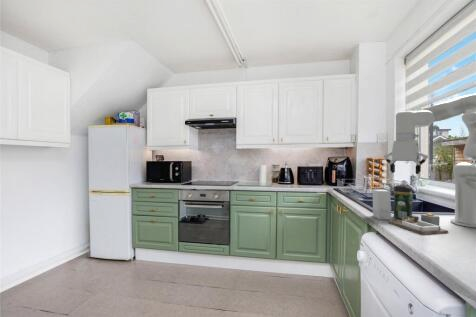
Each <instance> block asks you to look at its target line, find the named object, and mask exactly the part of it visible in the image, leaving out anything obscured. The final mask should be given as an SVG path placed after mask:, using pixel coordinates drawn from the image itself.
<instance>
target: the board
mask: <svg viewBox="0 0 476 317" xmlns="http://www.w3.org/2000/svg"><path fill="white" fill-rule="evenodd" d="M417 220H420V216H417V215H413V214H412V215H410V217H406V219H404V218H402V219H397V220H396V219H395V220H388V221H387V223H388V224H391V225H394V226H397V227H399V228H402V229H404V230H407V231H411V232H413V233H415V234H419V235H422V236H423V235H438V234H448V233H449V230H446V229H444V228H441V227H440V230H438V231H423V232H422V231H419V230H416V229H413V228H410V227H407V226H404V225H402V221H405V222H408V223H411V224H415V225H418V226H421V227H425V226H422V225H419V224H417Z"/></svg>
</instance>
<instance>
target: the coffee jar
mask: <svg viewBox="0 0 476 317" xmlns="http://www.w3.org/2000/svg"><path fill="white" fill-rule="evenodd" d="M393 201H394V202H393V204H394V205H393V217H394V218H397V220H402V218H404V219H406V217H410V215H413V187H411V186H410V185H408V184H400V185H397V186H394V187H393Z"/></svg>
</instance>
